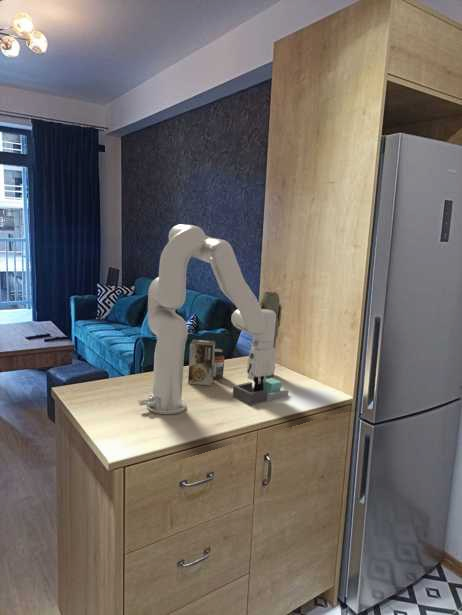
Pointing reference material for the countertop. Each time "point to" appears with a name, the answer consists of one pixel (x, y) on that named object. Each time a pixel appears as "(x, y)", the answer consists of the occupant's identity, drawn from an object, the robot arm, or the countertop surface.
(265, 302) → the thermos
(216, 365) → the supplement bottle
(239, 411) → the countertop surface
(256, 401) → the channel
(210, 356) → the coffee box
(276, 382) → the teal block
